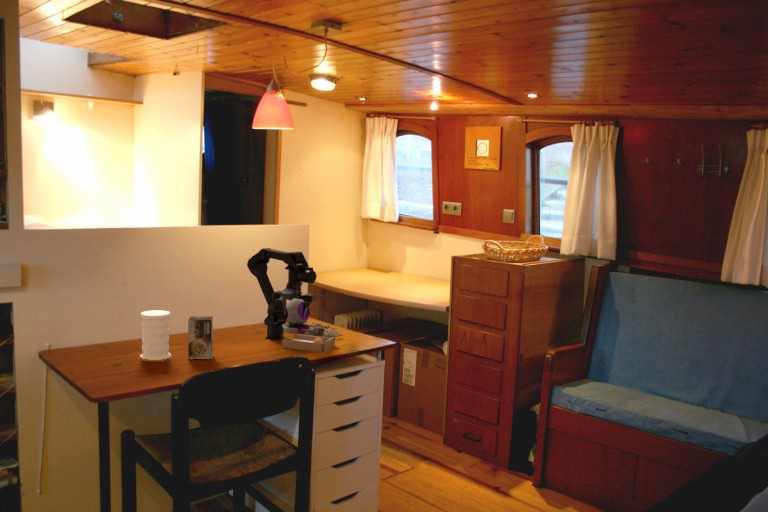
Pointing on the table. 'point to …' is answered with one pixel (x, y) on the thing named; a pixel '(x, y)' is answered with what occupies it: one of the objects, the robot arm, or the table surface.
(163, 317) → the decorative container
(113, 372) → the table surface
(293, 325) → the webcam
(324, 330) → the figurine
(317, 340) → the ball
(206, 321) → the coffee box
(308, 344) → the shallow open tray
